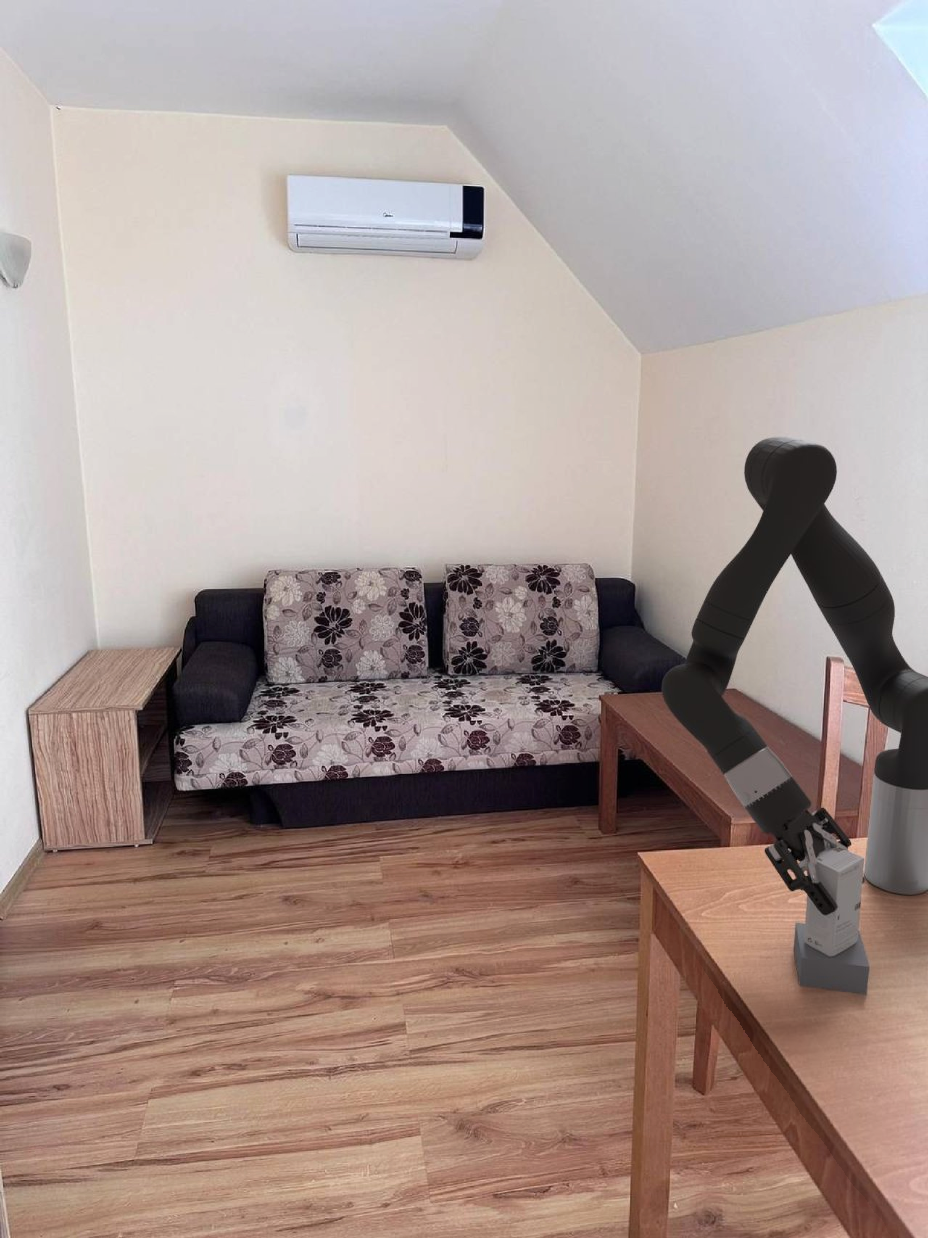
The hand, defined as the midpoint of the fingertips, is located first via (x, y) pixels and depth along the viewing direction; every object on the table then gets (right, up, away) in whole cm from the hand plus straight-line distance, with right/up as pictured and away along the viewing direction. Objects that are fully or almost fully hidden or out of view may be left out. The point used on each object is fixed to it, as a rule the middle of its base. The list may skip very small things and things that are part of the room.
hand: (845, 898), depth 113 cm
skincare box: (-1, -7, +3) cm, 8 cm away
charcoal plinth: (-1, -11, +4) cm, 11 cm away
